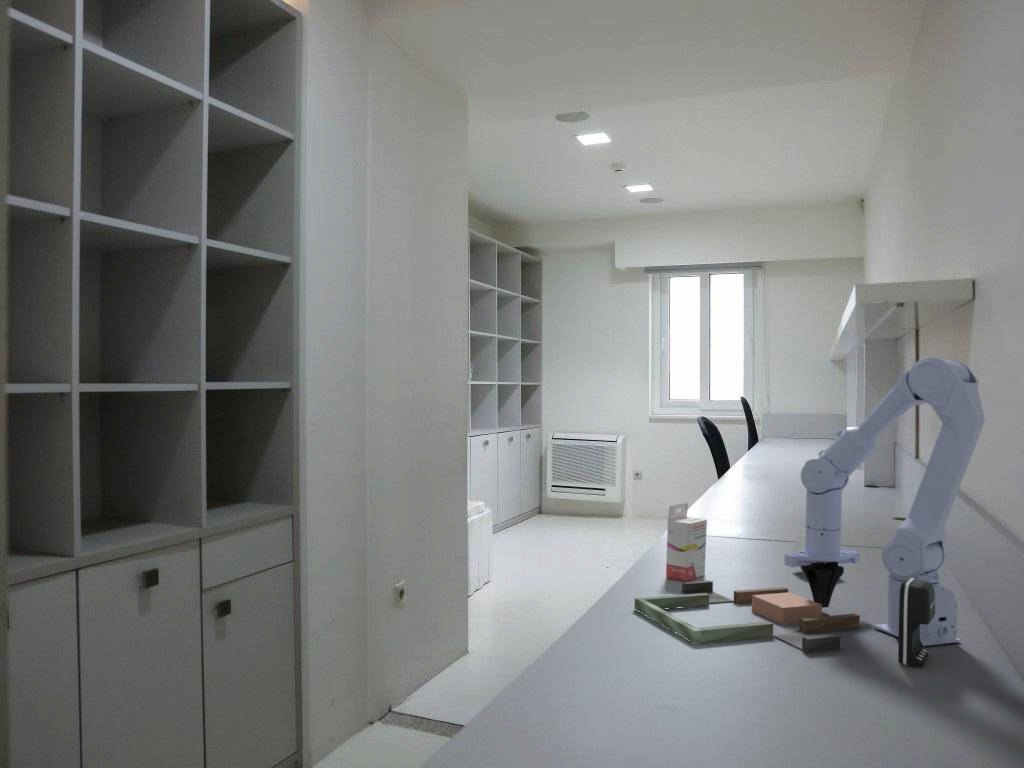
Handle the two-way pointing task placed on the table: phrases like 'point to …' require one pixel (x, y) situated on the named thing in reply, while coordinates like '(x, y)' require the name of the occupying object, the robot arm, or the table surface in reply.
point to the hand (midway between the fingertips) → (821, 605)
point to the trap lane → (704, 595)
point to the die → (800, 546)
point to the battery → (914, 620)
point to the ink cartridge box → (685, 545)
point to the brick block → (785, 607)
